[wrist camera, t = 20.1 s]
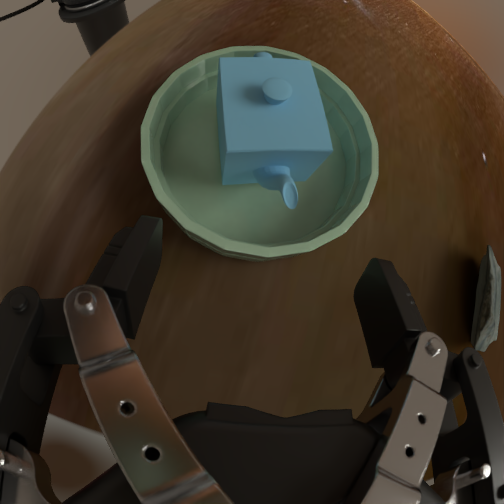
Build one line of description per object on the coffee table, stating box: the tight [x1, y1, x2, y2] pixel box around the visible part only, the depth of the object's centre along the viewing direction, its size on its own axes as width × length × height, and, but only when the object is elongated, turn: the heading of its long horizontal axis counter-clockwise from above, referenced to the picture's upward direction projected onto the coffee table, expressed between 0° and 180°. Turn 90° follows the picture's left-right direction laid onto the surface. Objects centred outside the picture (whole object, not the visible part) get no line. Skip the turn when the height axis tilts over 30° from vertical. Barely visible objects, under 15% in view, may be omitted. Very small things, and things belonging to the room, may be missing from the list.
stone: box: [471, 245, 501, 352], centre depth 22 cm, size 11×4×10 cm
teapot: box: [216, 52, 333, 209], centre depth 18 cm, size 12×6×8 cm, turn 6°
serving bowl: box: [141, 46, 378, 262], centre depth 20 cm, size 16×16×4 cm
